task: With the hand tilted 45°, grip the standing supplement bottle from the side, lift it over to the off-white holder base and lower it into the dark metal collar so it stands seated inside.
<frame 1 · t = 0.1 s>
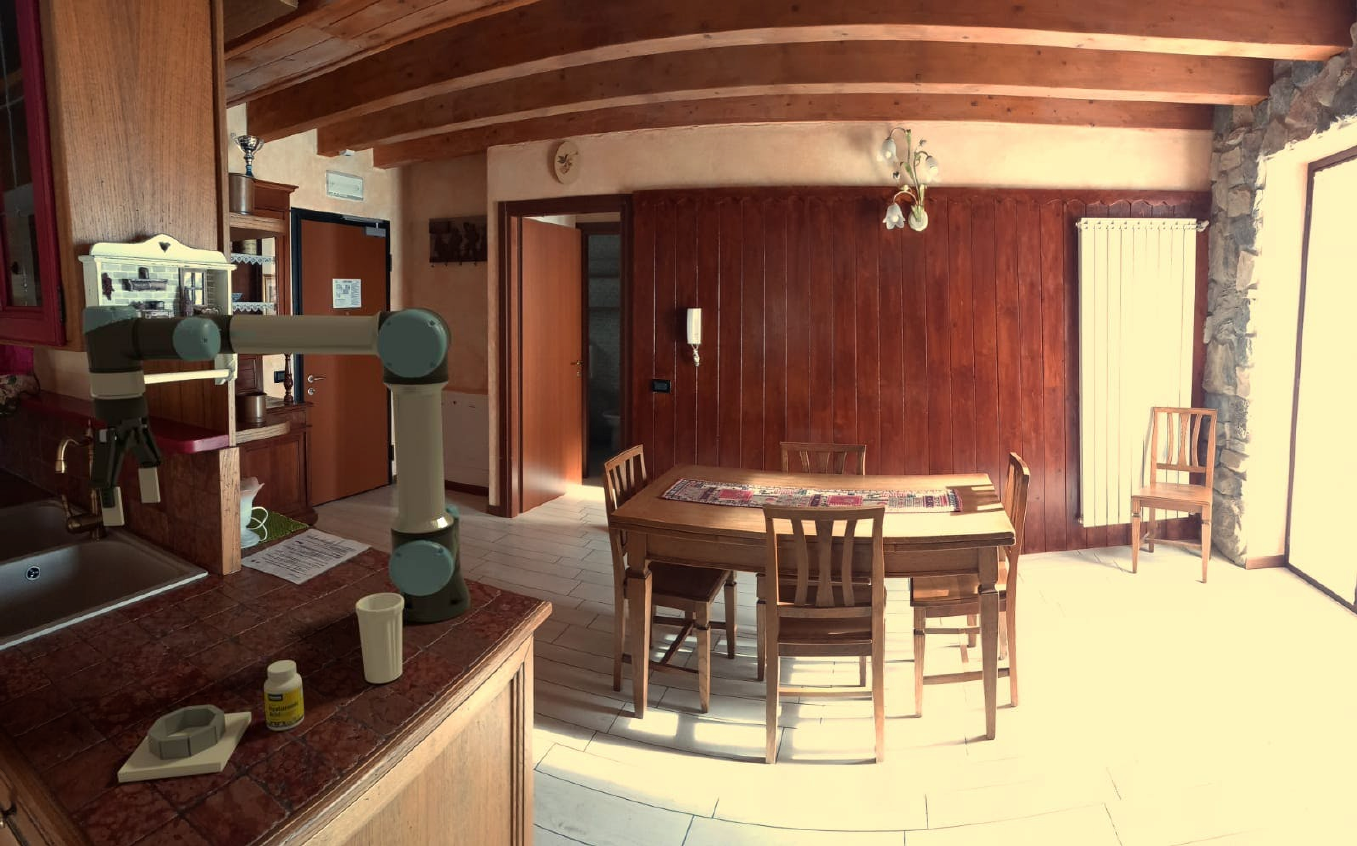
hand: (133, 513, 134), 28 cm above the counter, tool pointing down, fingers open, 13 cm apart
cup: (384, 677, 134), on the counter
supplement bottle: (286, 723, 120), on the counter
holder: (189, 749, 112), on the counter
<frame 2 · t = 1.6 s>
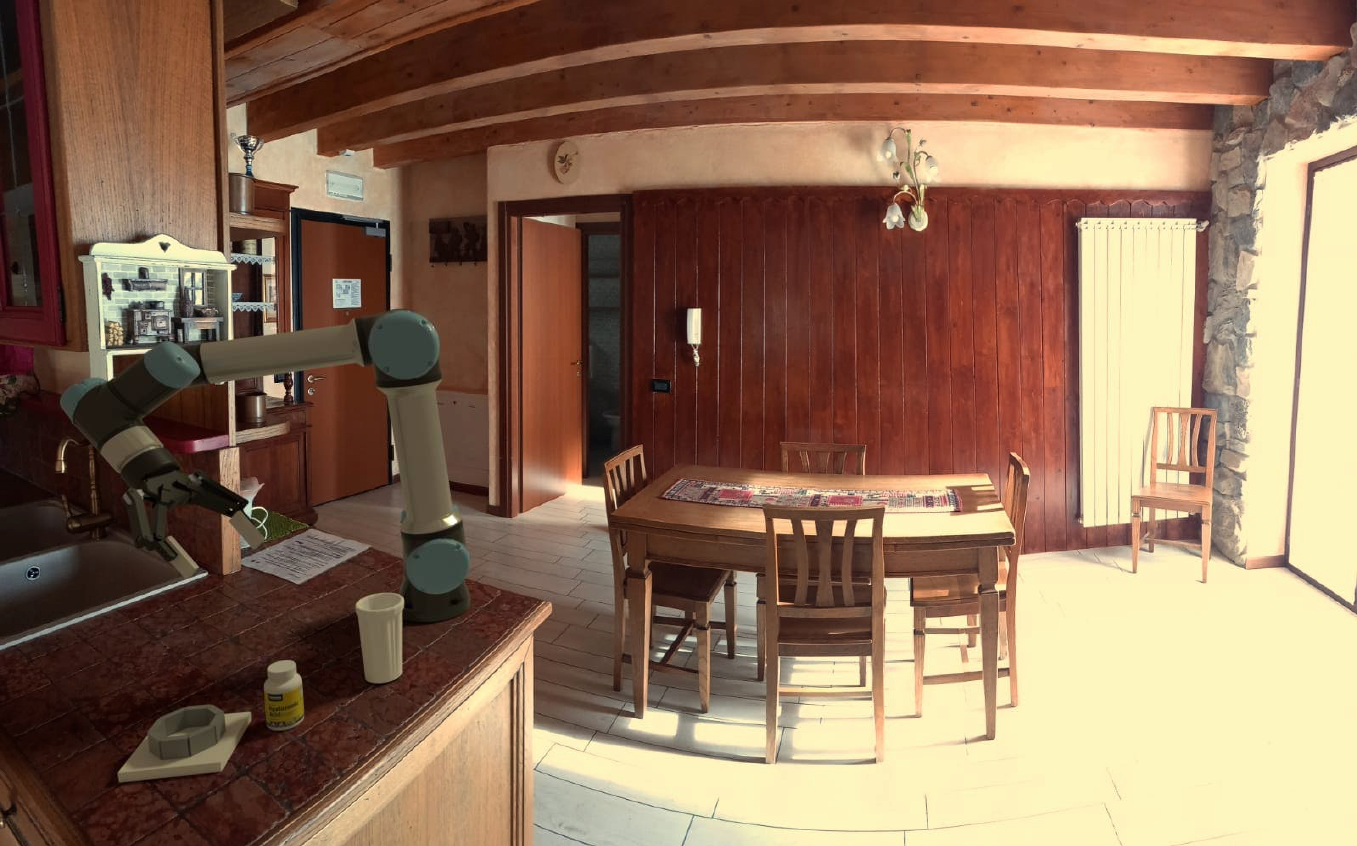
hand: (227, 558, 122), 25 cm above the counter, tool tilted 45°, fingers open, 13 cm apart
nothing on the counter moved.
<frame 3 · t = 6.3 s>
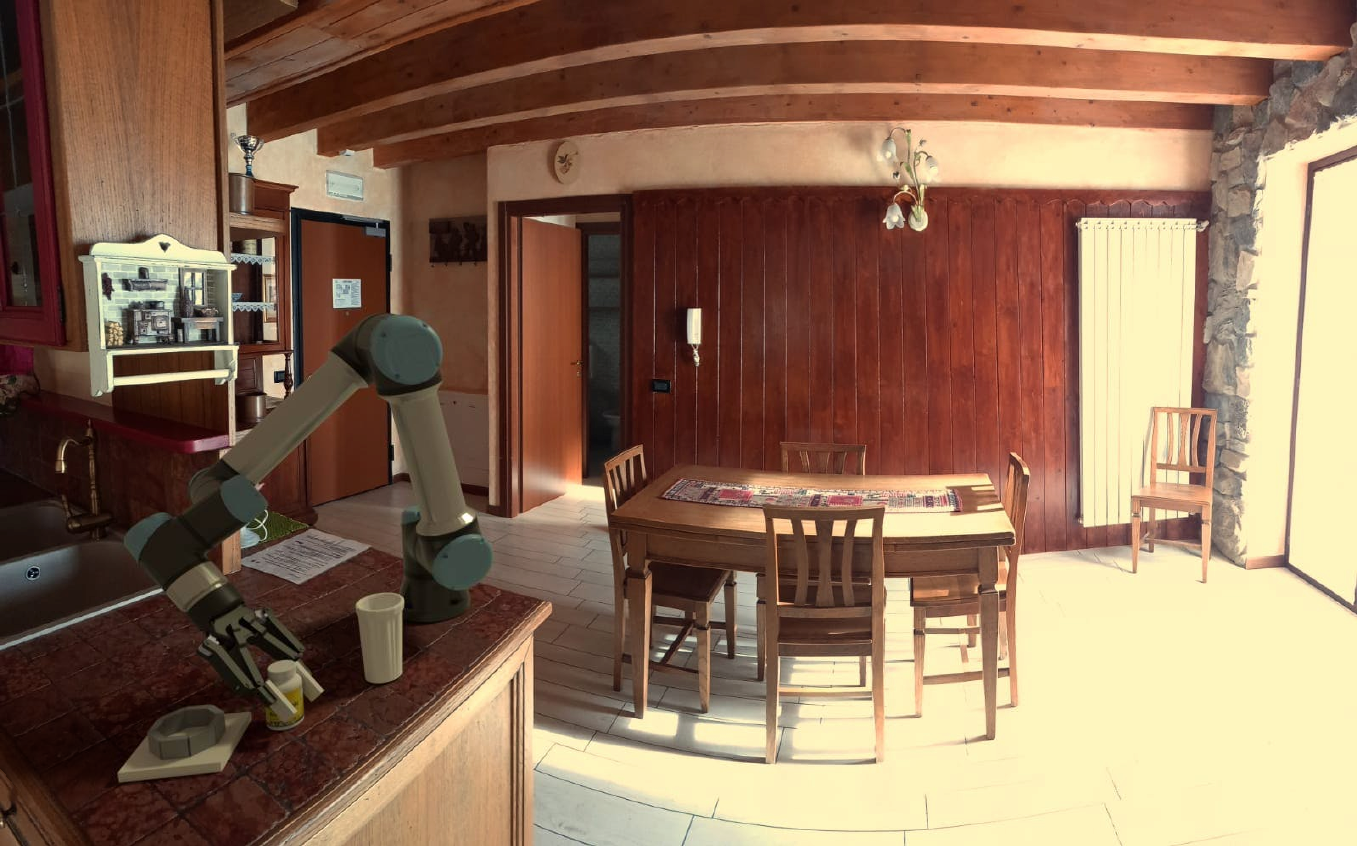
hand: (304, 706, 118), 3 cm above the counter, tool tilted 45°, fingers closed on supplement bottle, 5 cm apart
supplement bottle: (286, 722, 120), on the counter, touching gripper
everything else where it was.
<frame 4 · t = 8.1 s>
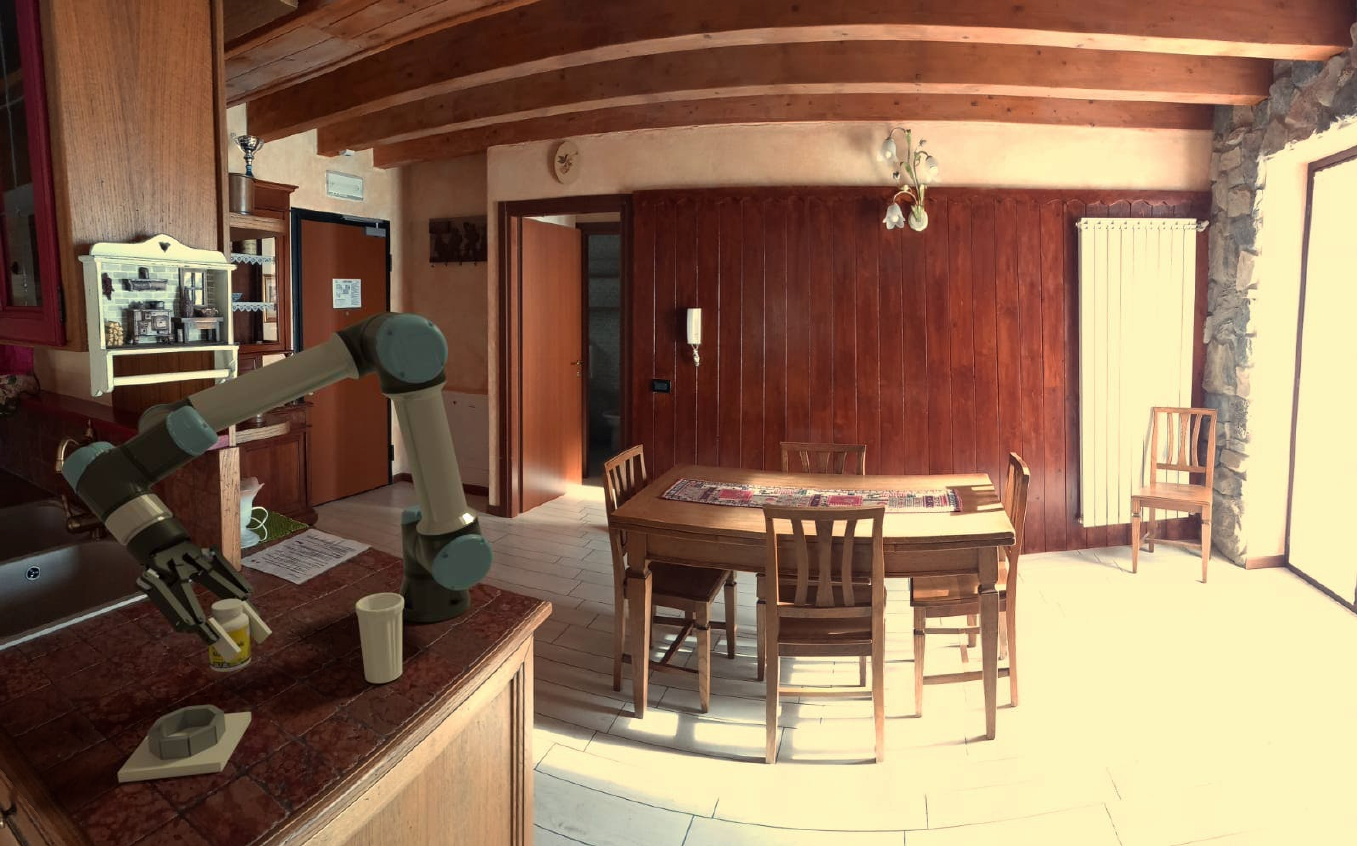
hand: (250, 646, 112), 15 cm above the counter, tool tilted 45°, fingers closed on supplement bottle, 5 cm apart
supplement bottle: (231, 665, 114), point 12 cm above the counter, touching gripper
everything else where it was.
when the fingers open (6 cm above the counter, at t = 10.3 s): supplement bottle drops 1 cm, resting on holder.
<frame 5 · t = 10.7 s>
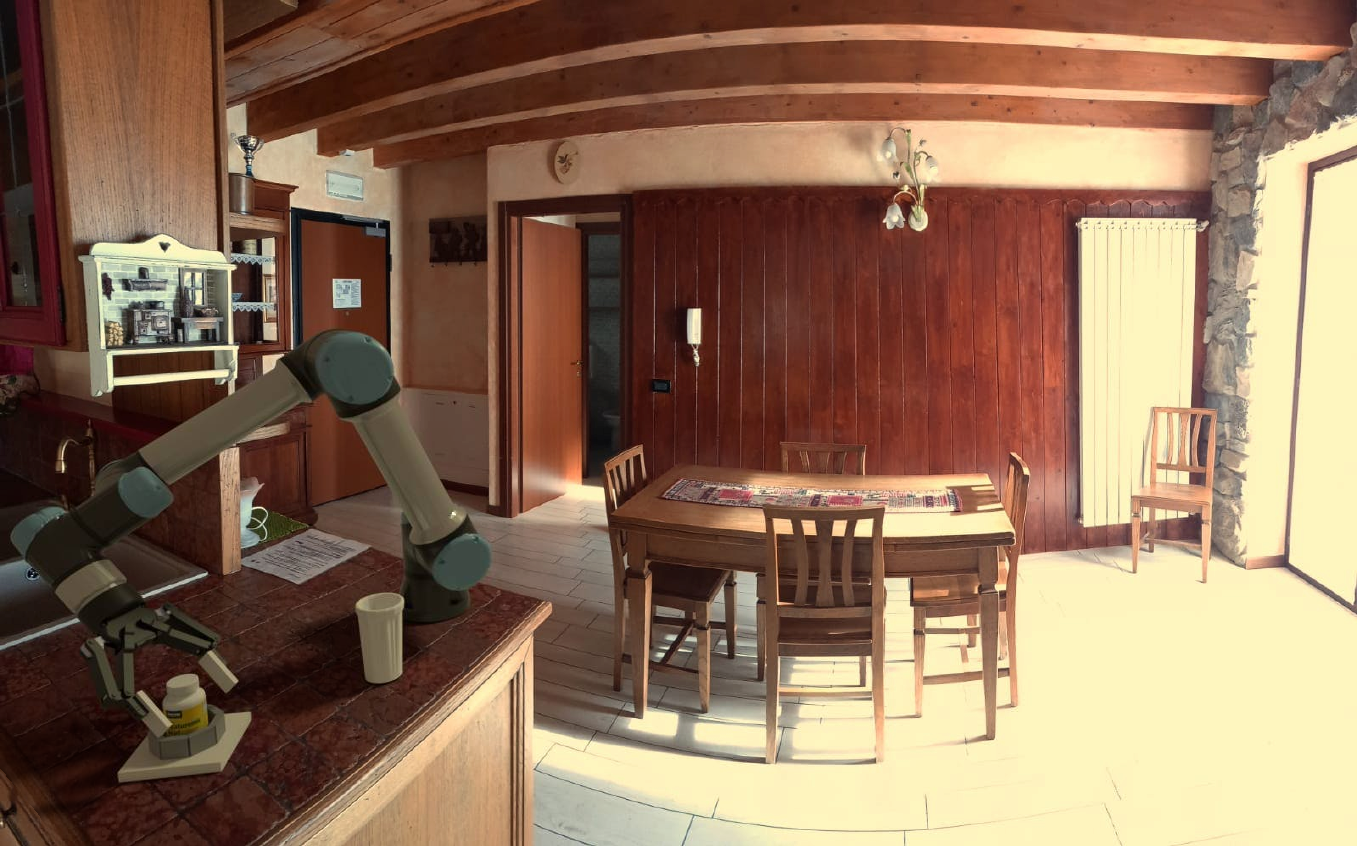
hand: (200, 707, 111), 7 cm above the counter, tool tilted 45°, fingers open, 11 cm apart
supplement bottle: (188, 741, 112), point 1 cm above the counter, touching holder
everything else where it was.
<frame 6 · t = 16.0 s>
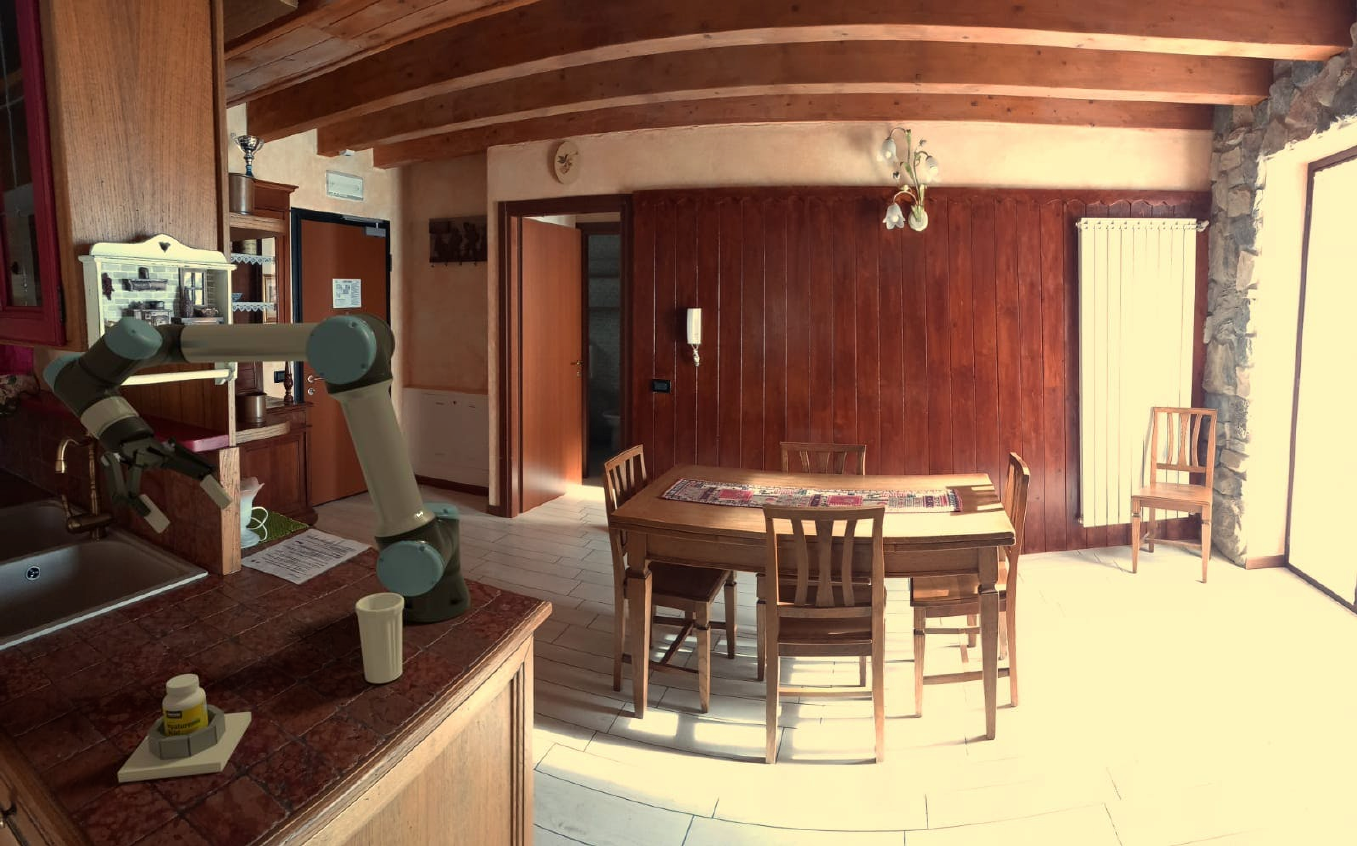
hand: (197, 516, 134), 28 cm above the counter, tool tilted 45°, fingers open, 13 cm apart
nothing on the counter moved.
at the end: supplement bottle 0.0 cm off-centre on the holder, point 1.3 cm above the holder's base; supplement bottle tilted 0°; the gripper is holding nothing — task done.
